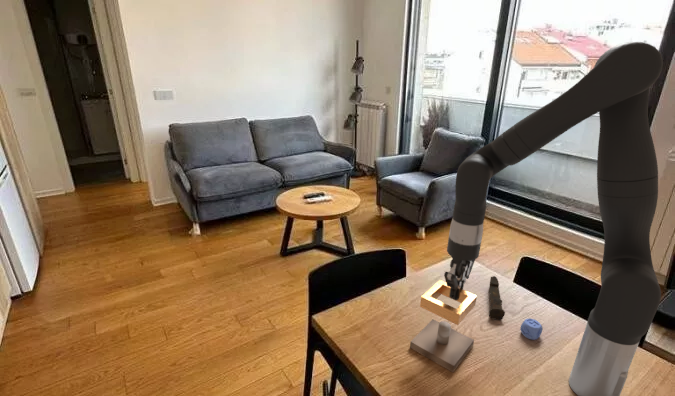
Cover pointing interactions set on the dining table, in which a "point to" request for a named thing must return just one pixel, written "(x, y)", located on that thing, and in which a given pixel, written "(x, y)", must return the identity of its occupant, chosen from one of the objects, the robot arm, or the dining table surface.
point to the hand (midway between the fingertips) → (455, 296)
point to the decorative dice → (531, 329)
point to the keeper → (442, 344)
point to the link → (443, 309)
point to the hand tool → (495, 300)
